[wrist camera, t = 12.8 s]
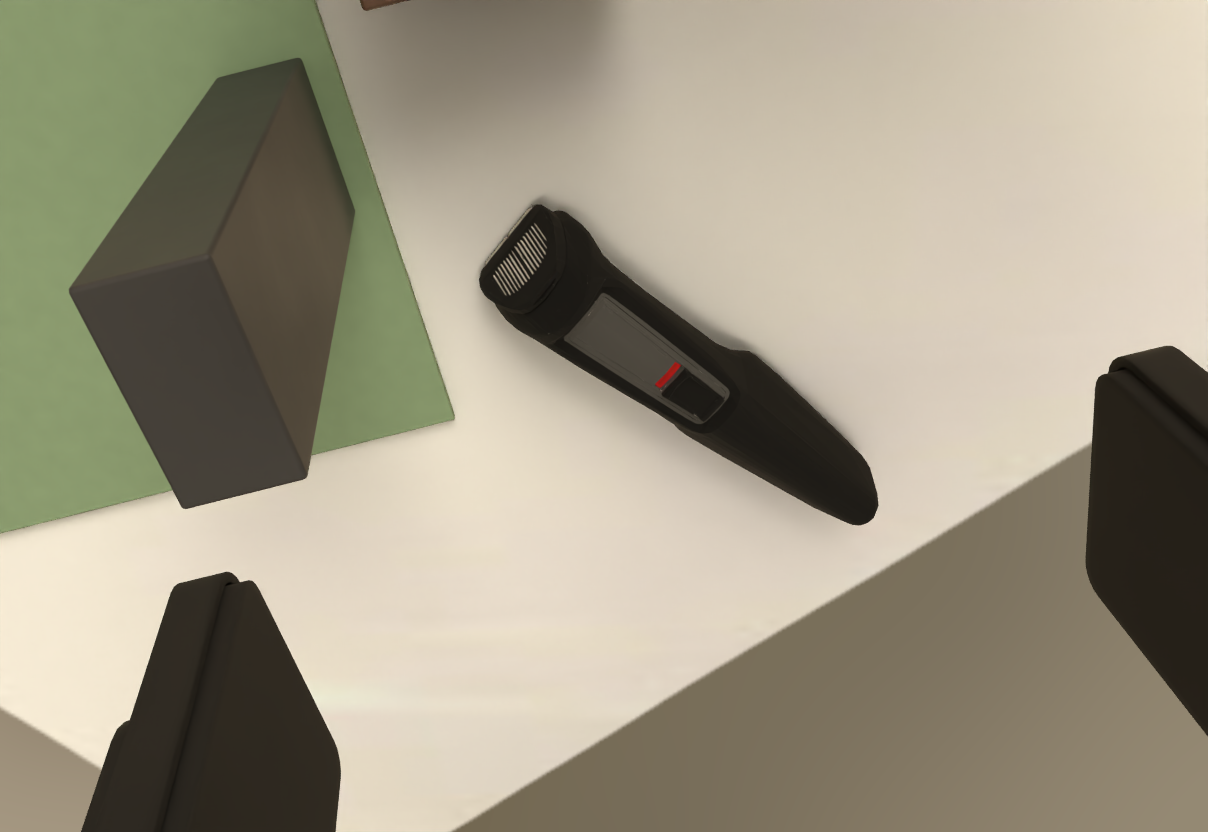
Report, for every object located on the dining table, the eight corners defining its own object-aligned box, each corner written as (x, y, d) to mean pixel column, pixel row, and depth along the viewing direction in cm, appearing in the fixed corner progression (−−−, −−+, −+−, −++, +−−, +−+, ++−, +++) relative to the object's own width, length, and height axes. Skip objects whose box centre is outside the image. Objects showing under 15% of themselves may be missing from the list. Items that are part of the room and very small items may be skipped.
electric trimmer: (805, 508, 40) (833, 562, 38) (469, 280, 34) (473, 325, 31) (878, 438, 39) (912, 488, 36) (544, 187, 32) (555, 226, 30)
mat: (-526, -102, 25) (-535, -100, 25) (219, -285, 25) (217, -286, 25) (-71, 547, 36) (-74, 552, 36) (454, 415, 36) (455, 419, 36)
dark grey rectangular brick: (202, 80, 29) (43, 295, 17) (301, 56, 29) (209, 253, 17) (265, 235, 32) (163, 516, 20) (356, 212, 32) (308, 480, 20)
